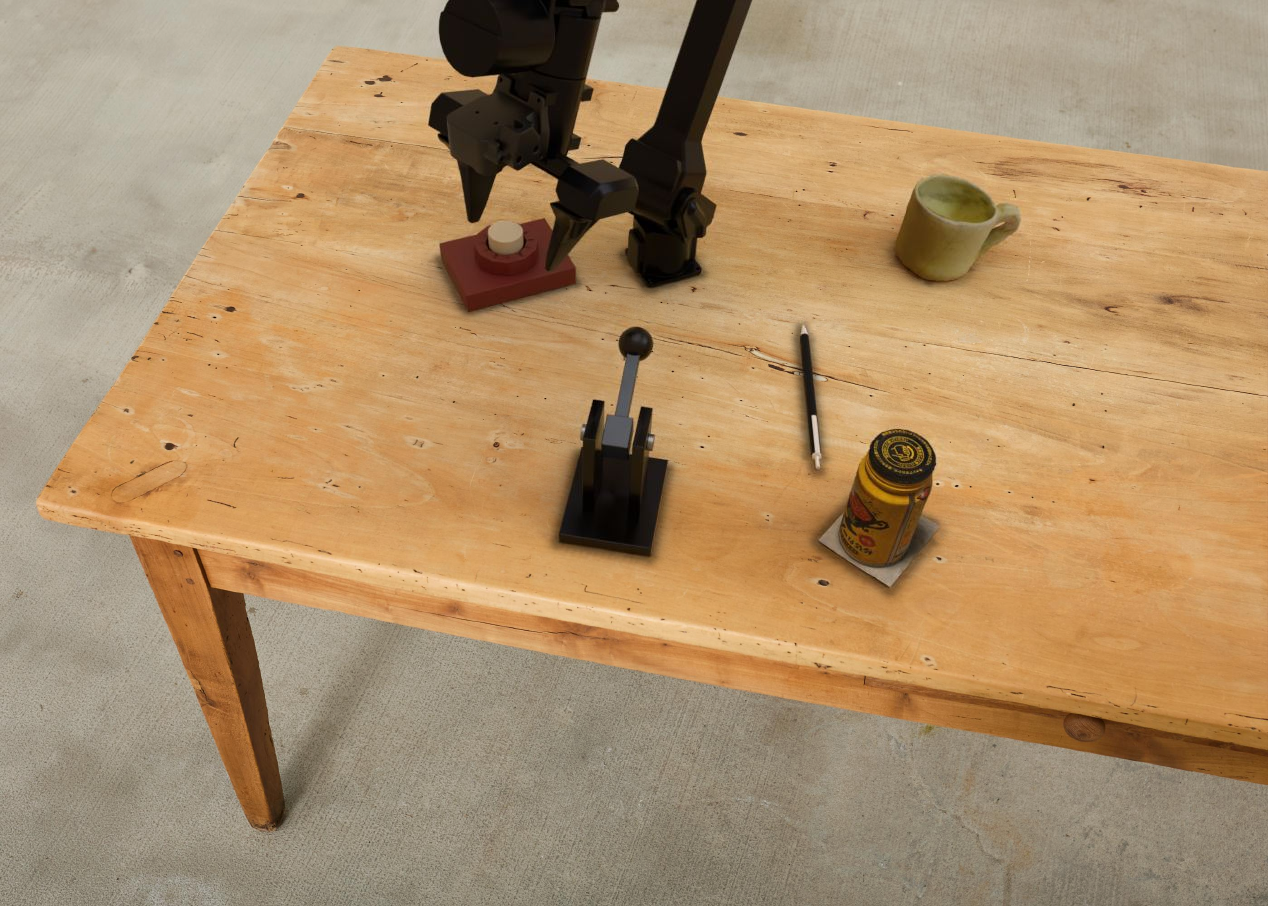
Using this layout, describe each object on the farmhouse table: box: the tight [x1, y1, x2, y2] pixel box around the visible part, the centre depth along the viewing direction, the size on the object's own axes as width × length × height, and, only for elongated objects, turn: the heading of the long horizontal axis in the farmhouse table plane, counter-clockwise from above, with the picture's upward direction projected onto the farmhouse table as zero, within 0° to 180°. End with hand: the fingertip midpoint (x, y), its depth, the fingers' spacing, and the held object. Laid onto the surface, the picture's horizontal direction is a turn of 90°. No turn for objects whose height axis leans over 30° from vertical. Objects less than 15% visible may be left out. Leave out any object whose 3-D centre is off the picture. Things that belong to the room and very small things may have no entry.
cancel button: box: [488, 220, 523, 255], centre depth 109 cm, size 4×4×2 cm
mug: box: [894, 173, 1022, 282], centre depth 114 cm, size 12×10×10 cm
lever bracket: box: [558, 398, 669, 557], centre depth 89 cm, size 10×8×11 cm
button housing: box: [438, 217, 577, 313], centre depth 111 cm, size 12×9×4 cm
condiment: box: [817, 428, 941, 588], centre depth 88 cm, size 7×8×12 cm
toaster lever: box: [601, 326, 654, 460], centre depth 88 cm, size 12×3×3 cm, turn 171°
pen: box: [799, 324, 822, 470], centre depth 103 cm, size 1×19×1 cm, turn 178°
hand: (510, 245), depth 91 cm, fingers open, 9 cm apart
